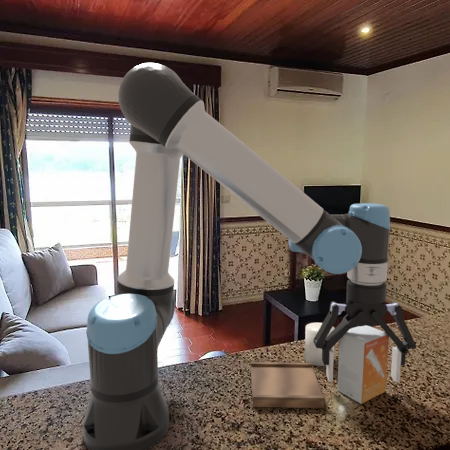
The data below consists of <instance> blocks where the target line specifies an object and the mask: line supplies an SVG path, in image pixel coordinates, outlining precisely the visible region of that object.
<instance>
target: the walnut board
mask: <svg viewBox="0 0 450 450" xmlns="http://www.w3.org/2000/svg"><path fill="white" fill-rule="evenodd" d="M250 379H251V380H250V381H251V382H250V383H251V397H252V399H251V401H252V407H253V408H301V409H302V408H303V409H305V408H306V409H307V408H308V409H309V408H310V409H311V408H312V409H324V408H325V399H326V398H325V395H323V392H322V389H321V388H320V384H319V381H318V378H317V377H316V374H315V370H314V369H313V364H312V363H308V362H291V361H290V362H288V361H287V362H283V361H282V362H281V361H280V362H277V361H276V362H275V361H274V362H273V361H250Z"/></svg>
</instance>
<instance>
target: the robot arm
mask: <svg viewBox="0 0 450 450" xmlns="http://www.w3.org/2000/svg"><path fill="white" fill-rule="evenodd" d="M118 104H119V107H120V111H121V113H122V115H123V116H124V118H125V119H126V121H127V122H128V123H129V124H130V132H129V145H130V146H131V147H132V148H133V149H134V151H135V152H136V154H135V156H136V157H135V166H134V176H133V177H134V178H133V188H132V189H133V190H132V199H131V211H130V222H129V235H128V242H127V243H128V245H127V256H126V265H125V267H126V268H125V270H124V271H123V272H121V273H120V274H119V275H118V276H117V282H116V291H115V292H116V294H115V295H113V296H109V298H104V299H101V300H100V301H98V302H97V303H96V304H94V306H93V307H92V308H91V309H90V310H89V313H88V314H87V315H88V316H87V319H86V320H87V322H86V323H87V325H86V332H85V333H86V338H87V347H88V349H87V350H88V362H89V379H90V391H91V393H90V397H89V401H88V404H87V407H86V411H85V415H84V418H83V424H82V433H83V435H82V437H83V438H82V439H83V442H84V445H85V446H86V447H87V448H88V449H89V450H149V449H151V448H153V447H154V446H156V445H157V444H158V443H160V442H161V441H162V439H164V437H165V436H166V435H167V433H168V431H169V428H170V411H169V410H170V409H169V407H168V405H167V401H166V399H165V397H164V394H163V391H162V389H161V387H160V384H159V366H158V365H159V363H158V350H159V345H160V343H161V342H162V339H163V337H164V335H165V333H166V331H167V329H168V327H169V326H170V324H171V322H172V320H173V318H174V315H175V308H176V303H175V297H174V290H175V289H174V288H175V279H174V277H173V276H171V274H170V273H169V269H170V259H171V258H170V257H171V250H172V249H171V248H172V238H173V230H174V229H173V228H174V219H175V209H176V200H177V191H178V182H179V181H178V180H179V172H180V162H181V158H182V157H183V156H185V157H186V158H188V159H189V160H190V161H192V162H193V163H194V164H196V165H197V166H198V167H199V168H200V169H201V170H202V171H204V172H205V173H206V174H208V176H210V177H211V178H212V179H214V180H215V181H216V182H217V183H219V185H220V186H223V187H224V188H225V189H226V190H227V191H228V192H230V193H231V194H232V195H233V196H235V197H236V198H237V199H239V200H240V201H241V202H243V203H244V204H245V205H246V206H247V207H248V208H249V209H251V210H252V211H253V212H255V214H256V215H259V217H260V218H262V219H263V220H264V221H266V223H269V225H270V226H271V227H273V228H274V229H276V230H277V231H279V233H280V234H282V235H283V236H284V237H285V238H287V240H288V241H287V242H288V247H289V249H290V251H291V252H295V253H296V252H297V253H302V254H306V255H307V256H308V257H310V258H311V259H312V260H313V261H314V263H315V264H316V265H317V266H318V267H319V268H320V269H322V270H323V271H325V272H327V273H331V274H335V275H341V274H346V273H347V275H346V277H347V278H348V280H346V294H345V295H346V301H345V303H337V302H336V301H330V303H329V311H328V313H327V314H326V317H325V318H324V320H323V321H322V322H321V323H322V325H321V327H320V329H319V331H318V332H317V334H316V336H315V338H314V340H313V342H314V344H315V346H316V348H321V349H322V361H323V363H324V365H326V366H325V368H326V370H325V371H326V372H325V374H326V378H327V381H328V383H333V382H334V379H333V378H334V363H333V357H334V358H335V351H334V352H333V350H332V347H333V346H334V345H335V346H336V344H337V343H339V340H340V339H341V338H342V337H343V336H344V335H345V333H346V332H347V331H348V330H349V329H352V328H354V327H356V326H357V327H358V326H366V325H367V326H370V327H375V326H376V325H377V324H378V326H380V328H381V329H382V330H383V332H385V333H387V334H388V336H389V339H390V340H391V341H392V342H393V343H394V344H395V346H392V353H391V368H390V376H391V378H392V380H393V381H394V382H395V383H396V384H397V383H398V384H399V383H400V382H401V367H402V366H403V367H405V364H406V357H407V356H406V355H407V354H408V353H409V352H410V351H409V350H411V349H412V350H415V349H416V348H417V344H416V342H415V339H414V338H413V335H412V334H411V331H410V329H409V328H408V326H407V323H406V321H405V318H404V317H403V307H402V305H400V304H399V303H398V302H397V301H392V302H391V303H388V304H386V300H387V287H388V286H387V283H386V281H387V280H388V263H389V261H388V259H389V257H388V256H389V244H390V243H389V242H390V231H391V216H390V208H389V207H388V206H387V205H385V204H382V203H381V204H380V203H372V202H371V203H369V202H368V203H366V202H365V203H363V202H362V203H353V204H351V205H350V206H349V210H348V213H344V214H330V213H329V212H327V211H326V210H324V208H323V207H321V206H320V205H319V204H318V203H317V202H315V200H313V199H312V198H311V197H310V196H309V195H307V194H306V193H305V192H304V191H302V190H301V189H300V188H299V187H298V186H296V184H294V183H293V182H292V181H290V180H289V179H288V178H287V177H286V176H284V175H283V174H282V173H281V172H280V171H278V170H277V169H276V168H275V167H273V166H272V165H271V164H270V163H269V162H267V161H266V160H265V159H264V158H262V157H261V156H260V155H259V154H258V153H257V152H255V151H254V150H253V149H251V148H250V147H249V146H248V145H247V144H245V143H244V142H243V141H242V140H241V139H239V138H238V137H237V136H236V135H235V134H233V133H232V132H231V131H229V130H228V129H227V128H226V127H225V126H224V125H223V124H221V123H220V122H219V121H217V119H215V118H214V117H213V116H211V115H210V114H209V113H208V112H207V111H206V109H205V103H204V101H203V100H202V99H201V98H200V97H198V96H197V95H196V94H195V93H194V92H192V90H190V88H189V87H187V86H186V84H185V83H184V82H183V81H182V79H181V77H179V75H178V74H177V73H176V72H175V71H174V70H173V69H171V68H170V67H168V66H166V65H163V64H160V63H158V62H157V63H155V62H144V63H141V64H139V65H136V66H134V67H133V68H131V69H130V70H129V71H128V72H127V73H126V74H125V75H124V77H123V78H122V80H121V81H120V84H119V89H118ZM343 311H344V312H345V313H346V314H345V315H344V317H343V318H342V320H341V322H340V323H338V324H337V326H336V327H334V325H335V323H336V321H337V320H338V316H340V315H342V312H343ZM387 312H388V313H390V315H391V316H392V318H393V319H394V321H395V323H396V326H397V327H398V330H399V332H400V334H401V335H402V338H403V340H401V339H400V338H399V337H398V336H397V335H396V333H395V332H394V330H392V329H391V327H390V326H389V325H388V324H387V322H386V321H385V320H384V319H383V317H384V316H385V315H386V314H387ZM332 327H334V328H335V329H334V330H333V331H332V332H331V333H330V334H329V332H330V330H331V328H332ZM328 334H329V335H328ZM327 335H328V336H327Z"/></svg>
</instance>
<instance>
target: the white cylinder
mask: <svg viewBox="0 0 450 450" xmlns="http://www.w3.org/2000/svg"><path fill="white" fill-rule="evenodd" d="M322 323H323V322H310V323H307V324H306V325H305V332H304V334H305V337H304V338H305V340H304V345H305V346H304V360H305V361H306V363H312V366H316V367H326V365H324V363H323V361H322V349H321V348H316V346H315V344H314V342H313V340H314V338H315V336H316V334H317V332H318V331H319V329H320V327H321V325H322ZM335 328H336V327H334V326H333V327H332V328H331V330H330V332H329V334H330V333H331V332H332V331H333V330H334V329H335ZM329 334H328V335H329ZM328 335H327V336H328ZM335 346H336V344H335V345H334V346H333V347H332V350H333V352H334V353H335V349H336V347H335ZM334 363H335V356H334V357H333V364H334Z"/></svg>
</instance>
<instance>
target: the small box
mask: <svg viewBox="0 0 450 450" xmlns="http://www.w3.org/2000/svg"><path fill="white" fill-rule="evenodd" d="M389 341H390V337H389V336H388V334H387V333H386V332H385V331H384V330H383V331H382V330H380V329H377V328H375V327H374V326H367V325H366V326H358V325H357V326H354V327H353V328H352V329H349V330H348V331H347V332H346V333H345V335H344V336H343V337H342V338H341V339H340V340H339V341H338V343H339V344H338V367H337V369H338V370H337V371H338V372H337V389H336V390H337V391H338V392H340V393H341V394H343V395H345V396H347V397H348V398H350V399H351V400H353V401H355V402H356V403H358V404H360V405H363V404H364V403H366V402H368V401H370V400H372V399H374V398H376V397H377V396H379V395H381V394H384V393H386V386H387V385H386V384H387V370H388V357H389V355H388V354H389Z"/></svg>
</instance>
